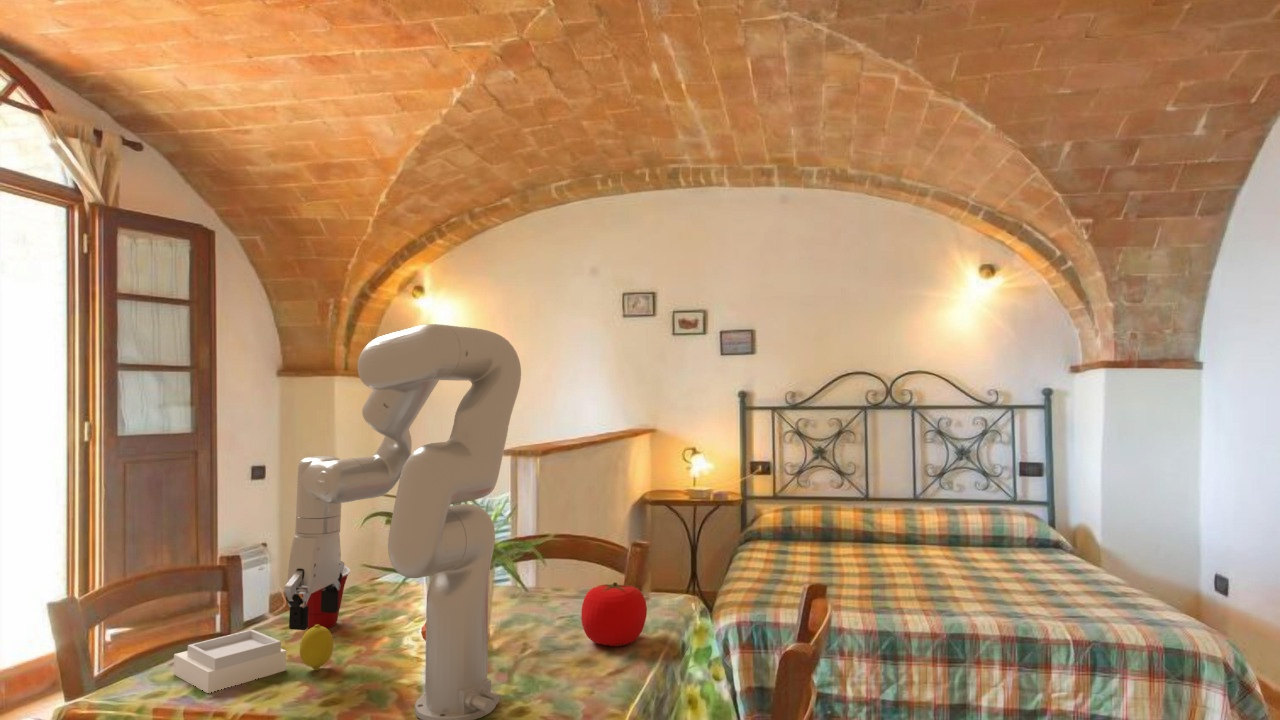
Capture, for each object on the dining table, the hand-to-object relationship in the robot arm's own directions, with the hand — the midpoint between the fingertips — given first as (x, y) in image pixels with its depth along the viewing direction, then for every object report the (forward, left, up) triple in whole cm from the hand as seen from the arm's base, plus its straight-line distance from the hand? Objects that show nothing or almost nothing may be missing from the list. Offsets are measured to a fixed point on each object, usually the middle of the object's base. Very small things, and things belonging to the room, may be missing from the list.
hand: (314, 620), depth 133 cm
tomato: (-34, -44, -9) cm, 56 cm away
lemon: (-1, 0, -9) cm, 9 cm away
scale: (+10, +10, -9) cm, 17 cm away
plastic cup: (+22, -14, -9) cm, 28 cm away
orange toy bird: (-6, -24, -9) cm, 26 cm away
